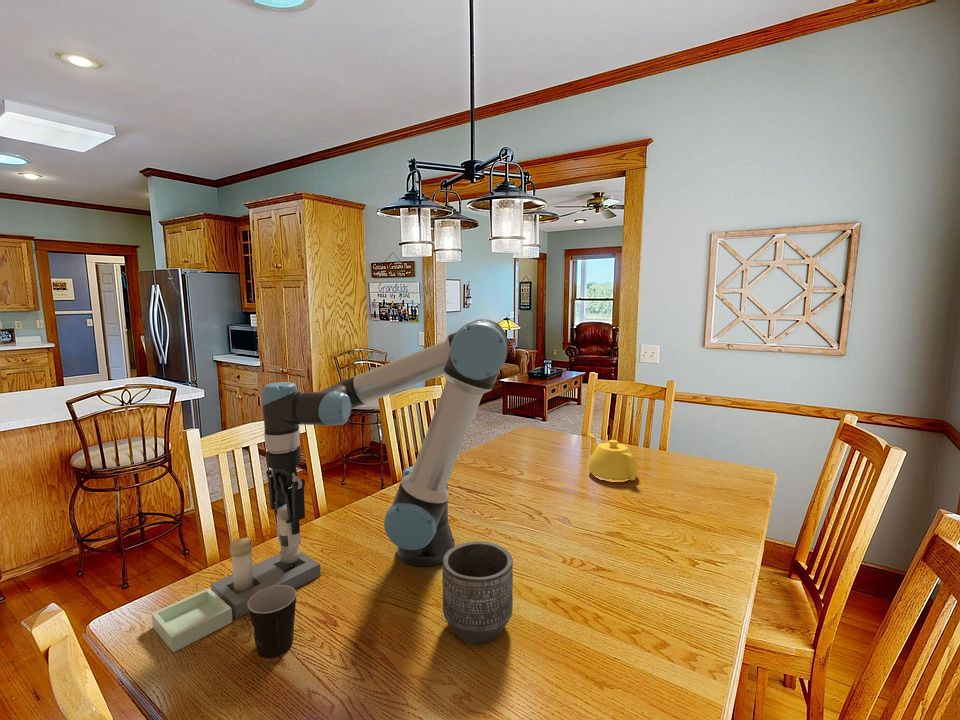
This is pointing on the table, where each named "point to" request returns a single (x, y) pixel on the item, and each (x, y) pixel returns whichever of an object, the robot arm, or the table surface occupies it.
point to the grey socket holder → (259, 575)
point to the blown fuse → (286, 538)
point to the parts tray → (191, 619)
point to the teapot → (611, 460)
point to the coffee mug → (273, 619)
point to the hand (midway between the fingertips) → (289, 542)
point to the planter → (477, 590)
